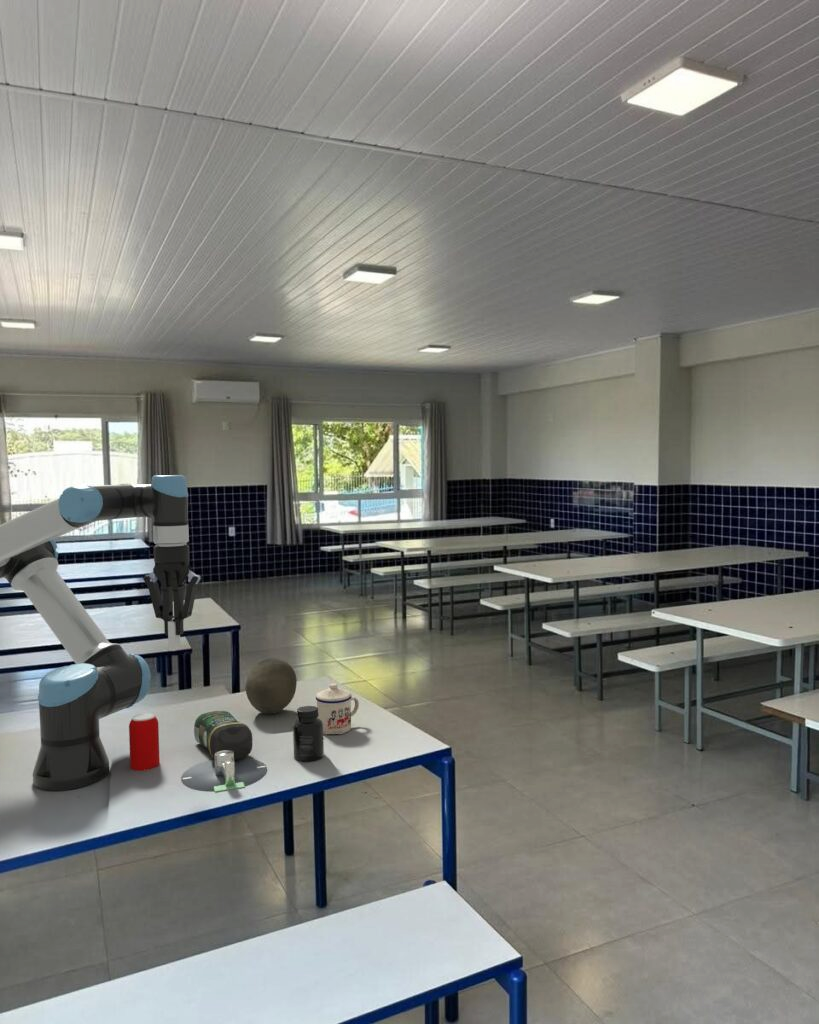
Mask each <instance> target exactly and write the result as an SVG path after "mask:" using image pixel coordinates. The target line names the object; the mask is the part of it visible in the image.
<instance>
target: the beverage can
mask: <svg viewBox="0 0 819 1024" xmlns="http://www.w3.org/2000/svg"><path fill="white" fill-rule="evenodd" d="M159 729H160V727H159V720H158V717H156V716H155V714H154V713H150V712H145V713H139V714H136V715H134V716H133V717H132V718H131V720H130V722H129V724H128V737H129V738H128V740H129V763H130V764H129V766H130V769H131V770H133V771H136V772H137V771H140V772H141V771H148V770H152V769H154V768H157V767H158V766H159V765H160V761H161V760H160V737H159V736H160V733H159V731H160V730H159Z"/></svg>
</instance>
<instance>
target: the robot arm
mask: <svg viewBox="0 0 819 1024" xmlns="http://www.w3.org/2000/svg"><path fill="white" fill-rule="evenodd" d="M188 516H189V492H188V483H187V477H186V476H184V475H181V474H173V475H171V474H169V475H168V474H167V475H164V474H163V475H161V474H160V475H158V474H157V475H153V476H152V478H151V483H150V484H148V483H147V484H145V483H142V484H141V483H138V484H137V483H133V484H131V483H119V484H97V485H95V484H92V485H88V484H80V485H75V486H68V487H67V488H65V489H63V491H62V493H61V494H60V495H59V498H57V499H55V500H52V501H51V502H48V503H46V504H43V505H42V506H40V507H39V506H38V507H37V508H34V509H32V510H31V511H30V510H29V511H28V512H26V513H23V514H21V515H19V516H16V517H15V518H12V519H10V520H8V521H6V522H3V523H2V524H0V579H3V578H4V579H5V580H6V581H7V582H8V584H10V586H11V587H12V589H13V590H15V591H22V592H24V594H25V595H26V597H27V598H28V599H29V601H30V602H31V603H32V606H34V608H35V609H36V610H37V612H38V613H39V615H40V616H41V617H42V619H43V620H44V622H45V624H47V626H48V627H49V629H50V630H51V631H52V632H53V634H54V636H56V638H57V639H58V641H59V642H60V644H61V645H62V646H63V648H64V649H65V651H66V652H67V653H68V655H69V656H70V657H71V660H73V662H74V663H73V664H72V663H71V664H70V665H64V666H60V667H58V668H55V669H53V670H51V671H48V672H47V673H46V674H45V675H43V676H42V678H41V679H40V680H39V685H38V695H37V701H38V711H39V727H40V728H39V729H40V730H39V733H40V748H39V751H38V755H37V758H36V761H35V765H34V768H33V771H32V783H33V786H34V787H36V788H37V789H40V790H44V791H65V790H66V791H67V790H73V789H78V788H82V787H85V786H88V785H92V784H94V783H97V782H99V781H100V780H102V779H104V778H106V776H107V775H108V774H109V773H110V761H109V760H110V759H109V757H108V754H107V752H106V749H105V746H104V745H103V742H102V739H101V736H100V719H102V718H105V717H108V716H110V715H112V714H115V713H118V712H120V711H123V710H126V709H129V708H131V707H133V706H135V704H137V703H139V702H141V701H142V700H143V699H145V697H146V696H147V694H148V693H149V690H150V686H151V682H150V681H151V679H152V678H151V670H150V667H149V665H148V663H147V662H146V660H145V659H144V658H143V657H142V656H140V655H139V654H135V653H129V654H128V653H126V651H125V649H124V648H123V647H122V645H121V644H119V643H117V642H115V643H114V642H113V643H112V642H110V641H109V640H108V638H107V637H106V635H105V634H104V633H103V631H102V630H101V629H100V628H99V626H98V625H97V623H96V622H95V620H94V619H93V618H92V617H91V615H90V614H89V613H88V612H87V610H86V609H85V607H84V606H83V605H82V603H81V602H80V601H79V599H78V598H77V596H76V595H75V594H74V592H73V591H72V589H71V588H70V587H69V585H67V583H66V582H65V580H64V579H63V578H62V576H61V575H60V574H59V572H58V566H59V561H58V558H59V551H58V550H57V549H58V545H57V542H56V541H55V539H56V538H60V537H61V536H64V535H66V534H68V533H71V532H73V531H75V530H78V529H80V528H83V527H86V526H87V525H89V524H93V523H95V522H98V521H107V520H108V521H109V520H119V519H130V518H131V519H132V518H149V519H150V518H152V528H153V530H152V533H153V534H152V535H153V539H152V540H153V542H152V543H154V544H155V545H154V547H153V561H154V566H153V568H152V572H151V573H148V574H146V575H144V576H143V579H142V580H143V582H144V583H145V584H146V586H147V589H148V592H149V595H150V599H151V603H152V607H153V611H154V612H153V613H154V615H155V618H157V619H161V620H162V621H163V622H164V623H163V625H164V626H163V627H164V634H165V636H167V637H168V642H167V643H168V651H170V652H171V651H172V652H175V651H177V650H179V649H181V635H183V634H184V620H185V619H187V618H189V617H191V616H192V615H193V614H192V613H193V610H194V605H195V600H196V599H195V598H196V594H197V589H198V585H199V583H200V582H201V580H202V575H201V574H196V573H195V572H193V570H192V567H191V566H190V565H191V564H190V546H189V545H188V544H187V543H189V542H190V539H189V538H190V537H189V534H190V533H189V529H190V528H189V517H188ZM186 581H188V584H187V588H186V593H185V598H184V588H185V583H186ZM158 582H159V583H160V586H159V583H158ZM160 589H161V590H160ZM161 592H162V594H161Z"/></svg>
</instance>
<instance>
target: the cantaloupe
mask: <svg viewBox="0 0 819 1024" xmlns="http://www.w3.org/2000/svg"><path fill="white" fill-rule="evenodd" d="M297 680H298V679H297V675H296V672H295V670H294V668H293V667H292V665H291V664H290V663H288V661H286V660H284V659H280V658H273V657H271V658H265V659H262V660H260V661H257V662H256V663H255V664H254V665H253V666H252V668H250V670H249V672H248V674H247V678H246V683H245V693H246V694H245V695H246V697H247V699H248V701H249V703H250V705H251V706H252V707H253V708H254V709H255V710H256V711H257V712H259V713H262V714H266V715H271V714H272V715H274V714H276V713H278V712H280V711H282V710H283V709H285V708H286V707H288V706H289V705H290V703H291V702H292V700H293V699H294V697H295V694H296V690H297V684H298V683H297Z"/></svg>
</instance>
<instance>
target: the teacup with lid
mask: <svg viewBox="0 0 819 1024" xmlns="http://www.w3.org/2000/svg"><path fill="white" fill-rule="evenodd" d="M315 700H316V707H318V714H319V716H318V718H319V719H320V720H321V721H322V722H323V735H327V734H338V735H342V734H341V733H343V734H346V733H348V732H349V731H350V730H351V729H352V717H353V716H355V714H356V713H358V710H359V707H360V702H359V699H358V698H356V697H355V696H352V693H351V692H350V691H349V690H346V689H342V688H341V687H338V684H337V683H330V684H329V687H327V688H326V689H323V690H321V691H318V692H317V694H316V696H315ZM352 701H354V707H353V709H352ZM347 731H348V732H347ZM345 732H346V733H345Z"/></svg>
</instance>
